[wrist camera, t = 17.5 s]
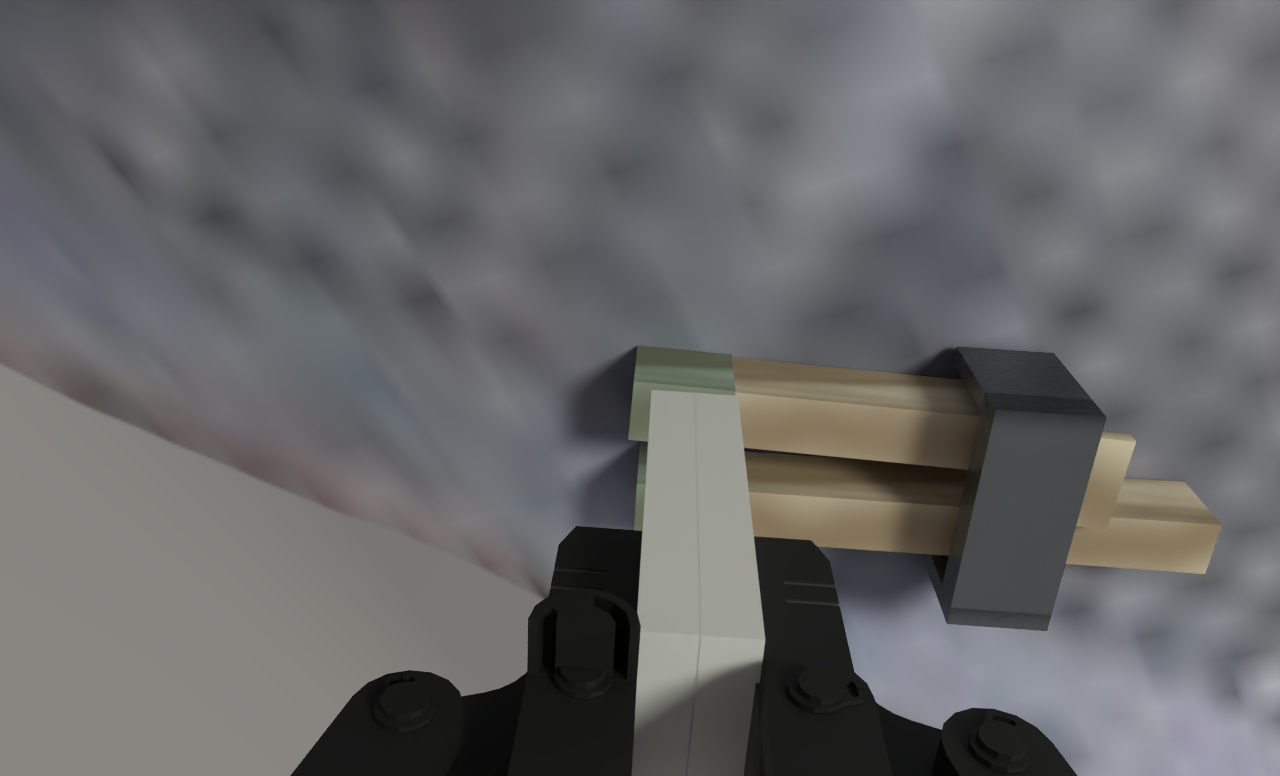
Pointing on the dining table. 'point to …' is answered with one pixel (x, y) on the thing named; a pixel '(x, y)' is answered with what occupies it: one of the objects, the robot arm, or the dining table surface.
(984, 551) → the collar
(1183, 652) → the dining table surface
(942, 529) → the bar
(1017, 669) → the dining table surface
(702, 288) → the dining table surface
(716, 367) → the tongs jaw
